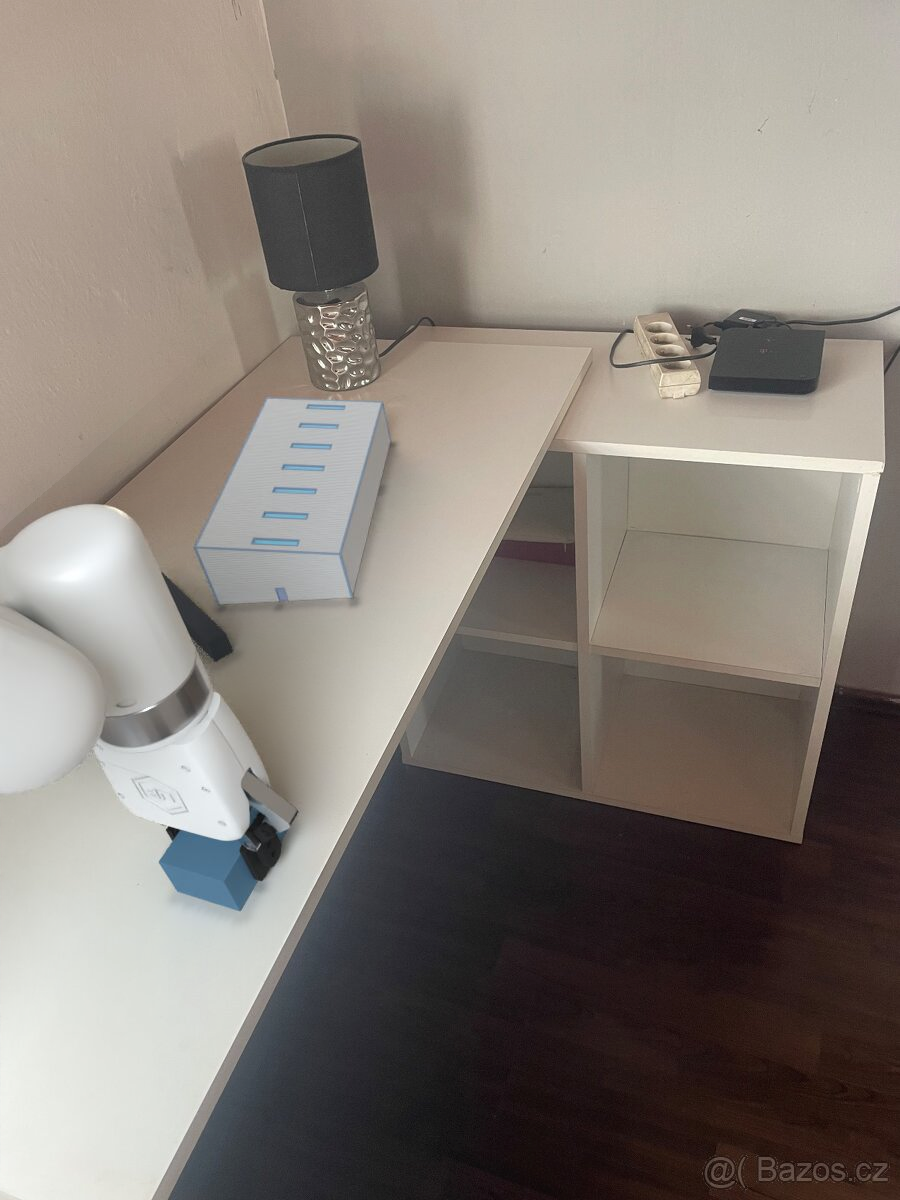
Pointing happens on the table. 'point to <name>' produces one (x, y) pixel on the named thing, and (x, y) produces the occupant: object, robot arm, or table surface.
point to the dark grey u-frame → (200, 624)
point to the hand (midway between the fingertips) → (232, 852)
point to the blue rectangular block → (210, 868)
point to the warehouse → (297, 503)
